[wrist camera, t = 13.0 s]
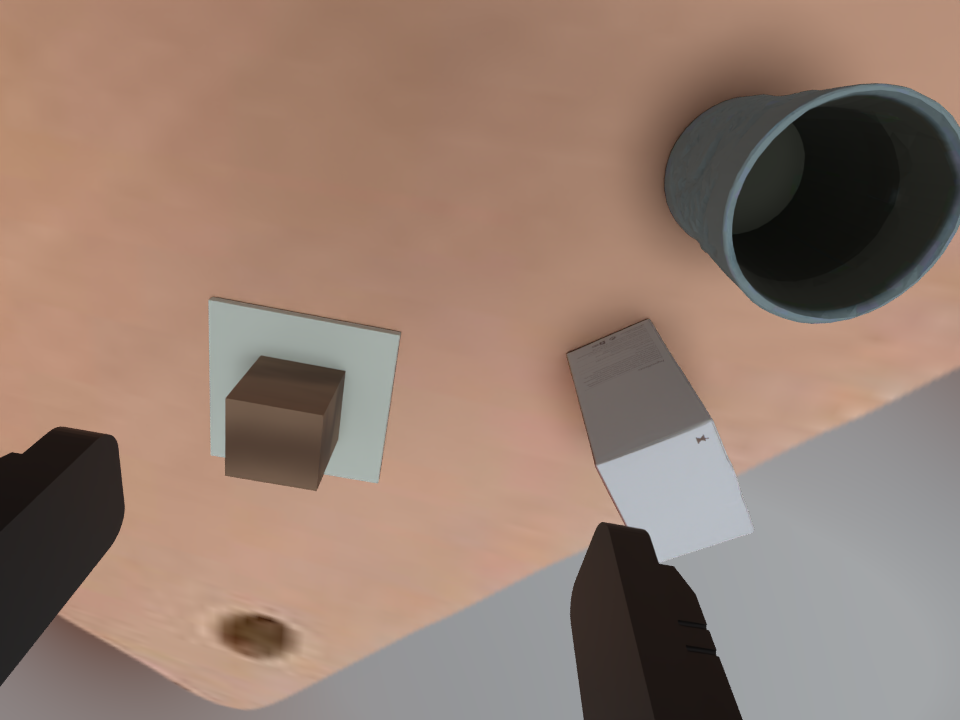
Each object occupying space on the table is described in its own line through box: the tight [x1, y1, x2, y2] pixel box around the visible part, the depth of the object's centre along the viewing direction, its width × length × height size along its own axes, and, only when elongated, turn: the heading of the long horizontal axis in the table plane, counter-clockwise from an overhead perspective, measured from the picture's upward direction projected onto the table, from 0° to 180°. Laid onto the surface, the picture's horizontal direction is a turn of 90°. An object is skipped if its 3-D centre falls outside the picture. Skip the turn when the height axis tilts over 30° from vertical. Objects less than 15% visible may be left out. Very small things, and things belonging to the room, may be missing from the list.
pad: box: [209, 297, 401, 483], centre depth 42 cm, size 13×13×1 cm
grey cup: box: [665, 83, 960, 324], centre depth 30 cm, size 10×10×12 cm
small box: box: [567, 319, 754, 563], centre depth 36 cm, size 8×6×13 cm
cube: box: [225, 355, 346, 491], centre depth 39 cm, size 6×6×6 cm
